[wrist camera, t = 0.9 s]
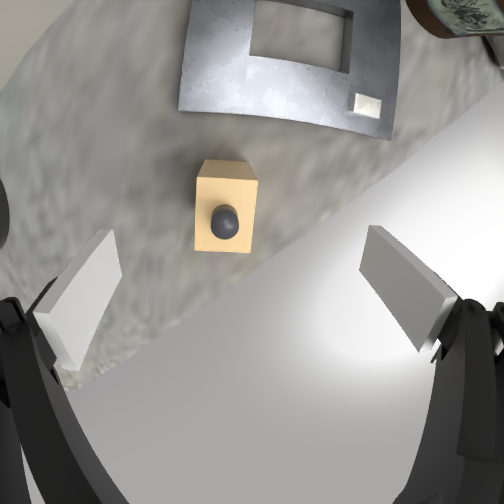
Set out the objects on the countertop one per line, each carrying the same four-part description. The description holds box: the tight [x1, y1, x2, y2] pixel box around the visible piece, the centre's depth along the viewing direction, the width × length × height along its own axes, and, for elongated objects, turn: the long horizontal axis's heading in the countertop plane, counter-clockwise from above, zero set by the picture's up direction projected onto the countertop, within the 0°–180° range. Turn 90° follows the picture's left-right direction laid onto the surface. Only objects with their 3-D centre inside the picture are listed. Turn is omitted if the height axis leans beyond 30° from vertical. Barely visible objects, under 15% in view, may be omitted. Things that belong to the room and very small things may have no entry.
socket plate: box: [178, 0, 401, 141], centre depth 20 cm, size 22×20×4 cm
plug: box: [195, 159, 258, 253], centre depth 24 cm, size 4×6×11 cm
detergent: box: [485, 36, 504, 70], centre depth 15 cm, size 13×7×25 cm
